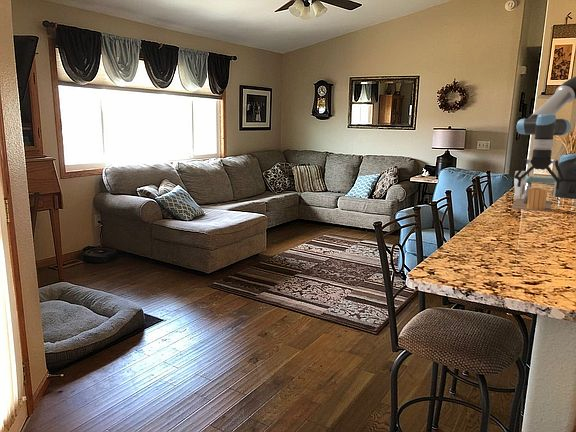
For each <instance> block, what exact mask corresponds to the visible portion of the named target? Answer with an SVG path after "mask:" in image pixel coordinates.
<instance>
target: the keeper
mask: <svg viewBox="0 0 576 432" xmlns="http://www.w3.org/2000/svg"><path fill="white" fill-rule="evenodd" d="M525 182H532V183H539V184H555V182H556V180H555V179H554V178H553V177H550V176H549V177H548V176H547V177H546V176H544V177H543V176H530V175H529V176H526V181H525Z"/></svg>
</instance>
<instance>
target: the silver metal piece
mask: <svg viewBox="0 0 576 432" xmlns="http://www.w3.org/2000/svg"><path fill="white" fill-rule="evenodd" d="M532 184H533V182H526V186H525V193H524V202H523V203H527V200H528V190H529V188H532Z"/></svg>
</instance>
